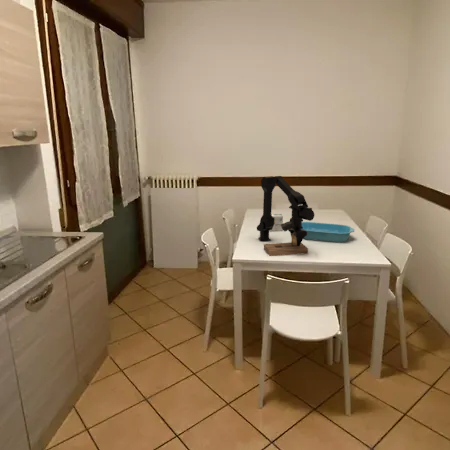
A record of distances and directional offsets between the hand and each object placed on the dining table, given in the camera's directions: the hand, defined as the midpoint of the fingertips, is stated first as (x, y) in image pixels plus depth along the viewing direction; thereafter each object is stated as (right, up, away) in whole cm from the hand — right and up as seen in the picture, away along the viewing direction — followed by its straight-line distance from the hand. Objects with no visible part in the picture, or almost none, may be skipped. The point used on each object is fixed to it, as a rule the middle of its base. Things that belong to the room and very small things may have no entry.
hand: (295, 243), depth 207 cm
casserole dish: (+23, +3, +26) cm, 34 cm away
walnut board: (-6, -4, 0) cm, 7 cm away
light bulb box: (-6, +7, +43) cm, 44 cm away
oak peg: (0, -4, +1) cm, 4 cm away
